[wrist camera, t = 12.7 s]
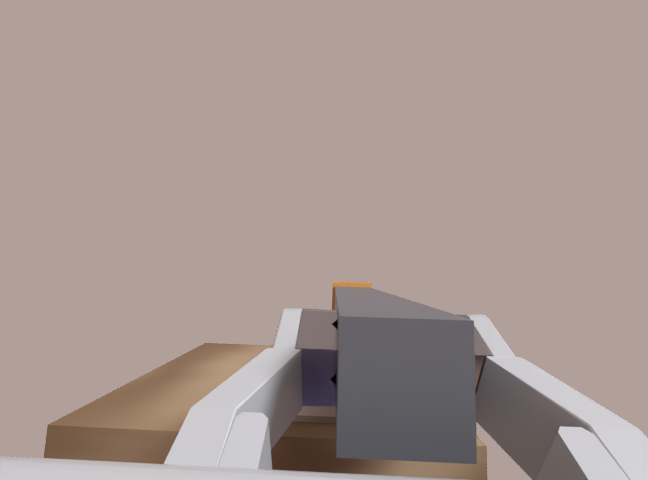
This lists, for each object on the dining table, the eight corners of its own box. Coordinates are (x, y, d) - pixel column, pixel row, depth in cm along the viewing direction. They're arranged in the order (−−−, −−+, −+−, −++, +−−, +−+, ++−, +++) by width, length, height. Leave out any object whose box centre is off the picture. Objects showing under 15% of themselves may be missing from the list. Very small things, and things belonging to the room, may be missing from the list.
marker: (366, 316, 25) (366, 282, 26) (485, 464, 6) (482, 303, 6) (332, 315, 25) (333, 281, 26) (327, 457, 6) (331, 299, 6)
